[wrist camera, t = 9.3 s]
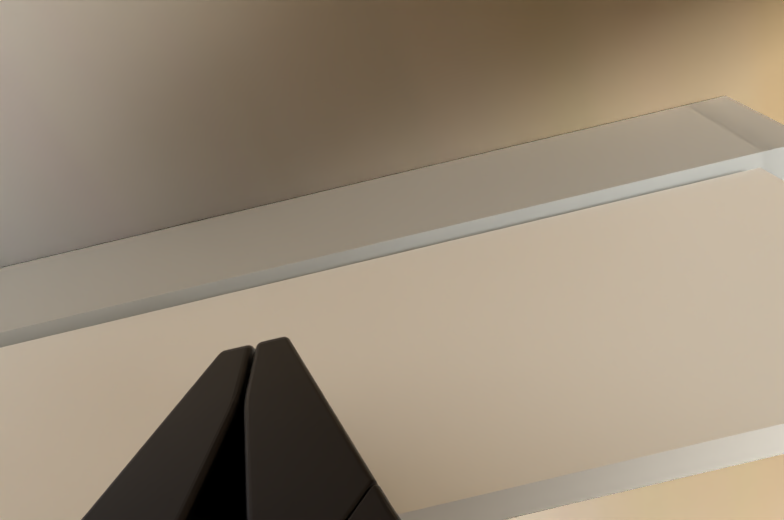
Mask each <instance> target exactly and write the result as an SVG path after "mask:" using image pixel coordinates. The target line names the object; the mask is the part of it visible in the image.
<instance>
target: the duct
mask: <svg viewBox="0 0 784 520" xmlns="http://www.w3.org/2000/svg"><path fill="white" fill-rule="evenodd" d="M755 168H762V169H764V170H766V171H767V172H769V173H771V174H773V175H774V176H776V177H778V178H779V179H781V180H783V181H784V125H782V124H780V123H778V122H777V121H775V120H773V119H771V118H769V117H767V116H765V115H763V114H761V113H759V112H757V111H755V110H753V109H751V108H749V107H747V106H745V105H743V104H741V103H739V102H737V101H735V100H733V99H731V98H729V97H727V96H722V97H718V98H714V99H710V100H705V101H701V102H697V103H693V104H688V105H684V106H680V107H676V108H672V109H667V110H663V111H659V112H655V113H651V114H646V115H642V116H638V117H634V118H630V119H625V120H621V121H617V122H613V123H609V124H604V125H600V126H596V127H592V128H588V129H583V130H579V131H575V132H571V133H566V134H562V135H558V136H554V137H550V138H545V139H541V140H537V141H533V142H529V143H524V144H520V145H516V146H512V147H508V148H503V149H499V150H495V151H491V152H487V153H482V154H478V155H474V156H470V157H466V158H461V159H457V160H453V161H449V162H444V163H440V164H436V165H432V166H428V167H423V168H419V169H415V170H411V171H407V172H402V173H398V174H394V175H390V176H386V177H381V178H377V179H373V180H369V181H365V182H360V183H356V184H352V185H348V186H343V187H339V188H335V189H331V190H327V191H322V192H318V193H314V194H310V195H306V196H301V197H297V198H293V199H289V200H285V201H280V202H276V203H272V204H268V205H264V206H259V207H255V208H251V209H247V210H243V211H238V212H234V213H230V214H226V215H221V216H217V217H213V218H209V219H205V220H200V221H196V222H192V223H188V224H184V225H179V226H175V227H171V228H167V229H163V230H158V231H154V232H150V233H146V234H142V235H137V236H133V237H129V238H125V239H120V240H116V241H112V242H108V243H104V244H99V245H95V246H91V247H87V248H83V249H78V250H74V251H70V252H66V253H62V254H57V255H53V256H49V257H45V258H41V259H36V260H32V261H28V262H24V263H20V264H15V265H11V266H7V267H3V268H0V348H1V347H5V346H9V345H13V344H18V343H22V342H26V341H30V340H34V339H39V338H43V337H47V336H51V335H56V334H60V333H64V332H68V331H72V330H77V329H81V328H85V327H89V326H94V325H98V324H102V323H106V322H110V321H115V320H119V319H123V318H127V317H131V316H136V315H140V314H144V313H148V312H153V311H157V310H161V309H165V308H169V307H174V306H178V305H182V304H186V303H190V302H195V301H199V300H203V299H207V298H212V297H216V296H220V295H224V294H228V293H233V292H237V291H241V290H245V289H250V288H254V287H258V286H262V285H266V284H271V283H275V282H279V281H283V280H287V279H292V278H296V277H300V276H304V275H309V274H313V273H317V272H321V271H325V270H330V269H334V268H338V267H342V266H346V265H351V264H355V263H359V262H363V261H368V260H372V259H376V258H380V257H384V256H389V255H393V254H397V253H401V252H406V251H410V250H414V249H418V248H422V247H427V246H431V245H435V244H439V243H443V242H448V241H452V240H456V239H460V238H465V237H469V236H473V235H477V234H481V233H486V232H490V231H494V230H498V229H503V228H507V227H511V226H515V225H519V224H524V223H528V222H532V221H536V220H540V219H545V218H549V217H553V216H557V215H562V214H566V213H570V212H574V211H578V210H583V209H587V208H591V207H595V206H599V205H604V204H608V203H612V202H616V201H621V200H625V199H629V198H633V197H637V196H642V195H646V194H650V193H654V192H659V191H663V190H667V189H671V188H675V187H680V186H684V185H688V184H692V183H696V182H701V181H705V180H709V179H713V178H718V177H722V176H726V175H730V174H734V173H739V172H743V171H747V170H751V169H755Z"/></svg>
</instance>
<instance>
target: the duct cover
mask: <svg viewBox="0 0 784 520" xmlns="http://www.w3.org/2000/svg"><path fill="white" fill-rule="evenodd" d="M279 337H288V338H289V339H290V341H291V342H292V344H293V346H294V347H295V349H296V350H297V352H298V354H299V355H300V357H301V359H302V360H303V362H304V364H305V365H306V367H307V368H308V370H309V372H310V373H311V375H312V377H313V378H314V380H315V382H316V383H317V385H318V386H319V388H320V390H321V391H322V393H323V395H324V396H325V398H326V400H327V401H328V403H329V404H330V406H331V408H332V409H333V411H334V413H335V414H336V416H337V417H338V419H339V421H340V422H341V424H342V426H343V427H344V429H345V431H346V432H347V434H348V435H349V437H350V439H351V440H352V442H353V444H354V445H355V447H356V449H357V450H358V452H359V453H360V455H361V457H362V458H363V460H364V462H365V463H366V465H367V466H368V468H369V470H370V471H371V473H372V475H373V476H374V478H375V480H376V481H377V484H378V485H379V486H380V487H381V489H382V490H383V492H384V494H385V495H386V497H387V499H388V500H389V502H390V504H391V505H392V507H393V508H394V510H395V511H396V513H397V514H398V516H399V517H400V519H401V520H505V519H509V518H513V517H518V516H522V515H526V514H530V513H535V512H539V511H543V510H547V509H552V508H556V507H560V506H564V505H569V504H573V503H577V502H581V501H586V500H590V499H594V498H598V497H603V496H607V495H611V494H615V493H620V492H624V491H628V490H632V489H637V488H641V487H645V486H649V485H654V484H658V483H662V482H666V481H671V480H675V479H679V478H683V477H688V476H692V475H696V474H700V473H705V472H709V471H713V470H717V469H722V468H726V467H730V466H734V465H739V464H743V463H747V462H751V461H756V460H760V459H764V458H768V457H773V456H777V455H781V454H784V181H783V180H781V179H779V178H778V177H776V176H774V175H773V174H771V173H769V172H767V171H766V170H764V169H762V168H755V169H751V170H747V171H743V172H739V173H734V174H730V175H726V176H722V177H718V178H713V179H709V180H705V181H701V182H696V183H692V184H688V185H684V186H680V187H675V188H671V189H667V190H663V191H659V192H654V193H650V194H646V195H642V196H637V197H633V198H629V199H625V200H621V201H616V202H612V203H608V204H604V205H599V206H595V207H591V208H587V209H583V210H578V211H574V212H570V213H566V214H562V215H557V216H553V217H549V218H545V219H540V220H536V221H532V222H528V223H524V224H519V225H515V226H511V227H507V228H503V229H498V230H494V231H490V232H486V233H481V234H477V235H473V236H469V237H465V238H460V239H456V240H452V241H448V242H443V243H439V244H435V245H431V246H427V247H422V248H418V249H414V250H410V251H406V252H401V253H397V254H393V255H389V256H384V257H380V258H376V259H372V260H368V261H363V262H359V263H355V264H351V265H346V266H342V267H338V268H334V269H330V270H325V271H321V272H317V273H313V274H309V275H304V276H300V277H296V278H292V279H287V280H283V281H279V282H275V283H271V284H266V285H262V286H258V287H254V288H250V289H245V290H241V291H237V292H233V293H228V294H224V295H220V296H216V297H212V298H207V299H203V300H199V301H195V302H190V303H186V304H182V305H178V306H174V307H169V308H165V309H161V310H157V311H153V312H148V313H144V314H140V315H136V316H131V317H127V318H123V319H119V320H115V321H110V322H106V323H102V324H98V325H94V326H89V327H85V328H81V329H77V330H72V331H68V332H64V333H60V334H56V335H51V336H47V337H43V338H39V339H34V340H30V341H26V342H22V343H18V344H13V345H9V346H5V347H1V348H0V520H81V519H82V518H83V517H84V516H85V514H86V513H87V512H88V511H89V510H90V508H91V507H92V506H93V505H94V504H95V502H96V501H97V500H98V499H99V498H100V496H101V495H102V494H103V493H104V492H105V490H106V489H107V488H108V487H109V486H110V484H111V483H112V482H113V481H114V480H115V478H116V477H117V476H118V475H119V474H120V472H121V471H122V470H123V469H124V468H125V466H126V465H127V464H128V463H129V462H130V460H131V459H132V458H133V457H134V456H135V454H136V453H137V452H138V451H139V449H140V448H141V447H142V446H143V445H144V443H145V442H146V441H147V440H148V439H149V437H150V436H151V435H152V434H153V433H154V431H155V430H156V429H157V428H158V427H159V425H160V424H161V423H162V422H163V421H164V419H165V418H166V417H167V416H168V415H169V413H170V412H171V411H172V410H173V409H174V407H175V406H176V405H177V404H178V403H179V401H180V400H181V399H182V398H183V397H184V395H185V394H186V393H187V392H188V391H189V389H190V388H191V387H192V386H193V385H194V383H195V382H196V381H197V380H198V379H199V377H200V376H201V375H202V374H203V373H204V371H205V370H206V369H207V368H208V367H209V365H210V364H211V363H212V362H213V361H214V359H215V358H216V357H217V356H218V355H219V354H220V353H221V352H222V351H224V350H228V349H233V348H237V347H241V346H246V345H251V346H253V347H254V348H255V349H256V346H257V344H258V343H260V342H263V341H267V340H271V339H275V338H279Z"/></svg>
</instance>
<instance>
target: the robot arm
mask: <svg viewBox="0 0 784 520" xmlns="http://www.w3.org/2000/svg"><path fill="white" fill-rule="evenodd" d="M81 520H401V519H400V517H399V516H398V514H397V513H396V511H395V510H394V508H393V507H392V505H391V504H390V502H389V500H388V499H387V497H386V495H385V494H384V492H383V490H382V489H381V487H380V486H379V485H378V484H377V481H376V480H375V478H374V476H373V475H372V473H371V471H370V470H369V468H368V466H367V465H366V463H365V462H364V460H363V458H362V457H361V455H360V453H359V452H358V450H357V449H356V447H355V445H354V444H353V442H352V440H351V439H350V437H349V435H348V434H347V432H346V431H345V429H344V427H343V426H342V424H341V422H340V421H339V419H338V417H337V416H336V414H335V413H334V411H333V409H332V408H331V406H330V404H329V403H328V401H327V400H326V398H325V396H324V395H323V393H322V391H321V390H320V388H319V386H318V385H317V383H316V382H315V380H314V378H313V377H312V375H311V373H310V372H309V370H308V368H307V367H306V365H305V364H304V362H303V360H302V359H301V357H300V355H299V354H298V352H297V350H296V349H295V347H294V346H293V344H292V342H291V341H290V339H289V338H288V337H279V338H275V339H271V340H267V341H263V342H260V343H258V344H257V346H256V349H255V348H254V347H253V346H251V345H246V346H241V347H237V348H233V349H228V350H224V351H222V352H221V353H220V354H219V355H218V356H217V357H216V358H215V359H214V361H213V362H212V363H211V364H210V365H209V367H208V368H207V369H206V370H205V371H204V373H203V374H202V375H201V376H200V377H199V379H198V380H197V381H196V382H195V383H194V385H193V386H192V387H191V388H190V389H189V391H188V392H187V393H186V394H185V395H184V397H183V398H182V399H181V400H180V401H179V403H178V404H177V405H176V406H175V407H174V409H173V410H172V411H171V412H170V413H169V415H168V416H167V417H166V418H165V419H164V421H163V422H162V423H161V424H160V425H159V427H158V428H157V429H156V430H155V431H154V433H153V434H152V435H151V436H150V437H149V439H148V440H147V441H146V442H145V443H144V445H143V446H142V447H141V448H140V449H139V451H138V452H137V453H136V454H135V456H134V457H133V458H132V459H131V460H130V462H129V463H128V464H127V465H126V466H125V468H124V469H123V470H122V471H121V472H120V474H119V475H118V476H117V477H116V478H115V480H114V481H113V482H112V483H111V484H110V486H109V487H108V488H107V489H106V490H105V492H104V493H103V494H102V495H101V496H100V498H99V499H98V500H97V501H96V502H95V504H94V505H93V506H92V507H91V508H90V510H89V511H88V512H87V513H86V514H85V516H84V517H83V518H82V519H81Z"/></svg>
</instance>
